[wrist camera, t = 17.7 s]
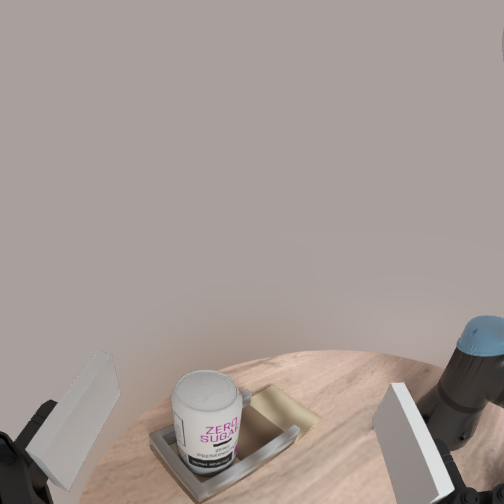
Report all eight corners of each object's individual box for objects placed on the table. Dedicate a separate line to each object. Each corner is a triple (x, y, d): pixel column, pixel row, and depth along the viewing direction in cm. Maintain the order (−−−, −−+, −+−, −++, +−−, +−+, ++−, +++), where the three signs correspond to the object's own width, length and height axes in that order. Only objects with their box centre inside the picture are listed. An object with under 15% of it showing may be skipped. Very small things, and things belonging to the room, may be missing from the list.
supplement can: (199, 427, 39) (198, 358, 34) (245, 450, 35) (256, 384, 31) (167, 458, 32) (154, 391, 27) (216, 486, 28) (218, 428, 24)
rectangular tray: (271, 388, 51) (274, 373, 50) (320, 421, 43) (325, 407, 42) (150, 448, 34) (146, 434, 32) (197, 505, 25) (195, 496, 24)
